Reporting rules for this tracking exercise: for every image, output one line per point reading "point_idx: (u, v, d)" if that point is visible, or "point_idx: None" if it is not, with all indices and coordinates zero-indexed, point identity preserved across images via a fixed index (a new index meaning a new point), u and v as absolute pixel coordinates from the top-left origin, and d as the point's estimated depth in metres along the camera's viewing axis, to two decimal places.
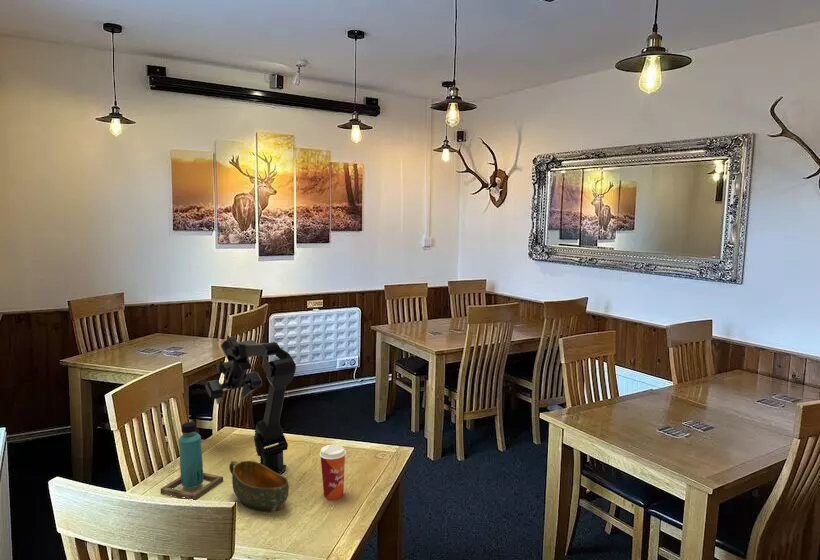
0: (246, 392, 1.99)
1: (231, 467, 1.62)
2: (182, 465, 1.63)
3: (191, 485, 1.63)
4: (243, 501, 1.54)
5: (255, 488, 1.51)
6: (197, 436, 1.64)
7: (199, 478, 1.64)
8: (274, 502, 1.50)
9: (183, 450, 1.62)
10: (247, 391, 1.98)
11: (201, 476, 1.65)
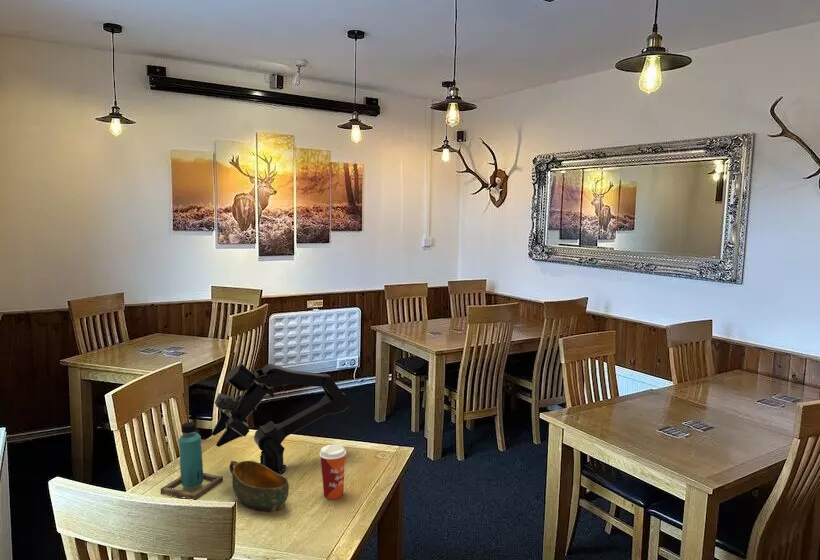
0: (225, 426, 1.73)
1: (231, 467, 1.62)
2: (182, 465, 1.63)
3: (191, 485, 1.63)
4: (243, 501, 1.54)
5: (255, 488, 1.51)
6: (197, 436, 1.64)
7: (199, 478, 1.64)
8: (274, 502, 1.50)
9: (183, 450, 1.62)
10: None
11: (201, 476, 1.65)
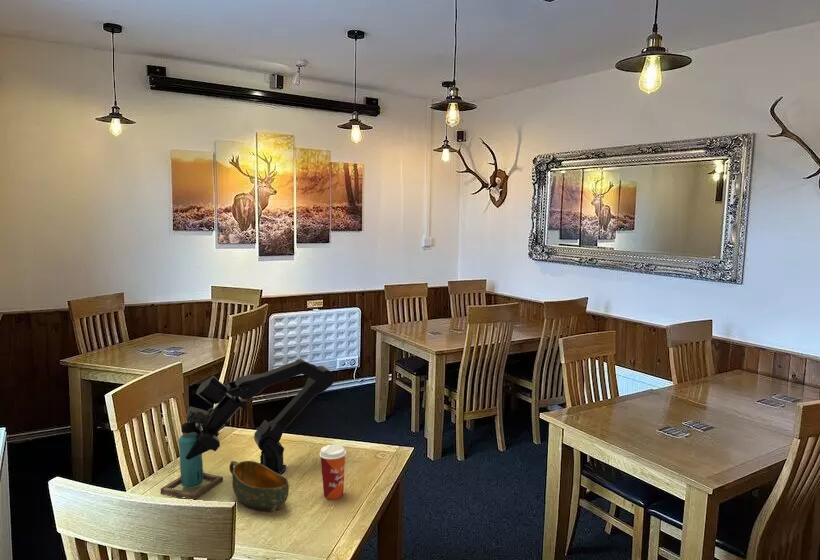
0: None
1: (231, 467, 1.62)
2: (182, 465, 1.63)
3: (191, 485, 1.63)
4: (243, 501, 1.54)
5: (255, 488, 1.51)
6: None
7: (199, 478, 1.64)
8: (274, 502, 1.50)
9: (183, 450, 1.62)
10: None
11: (201, 476, 1.65)
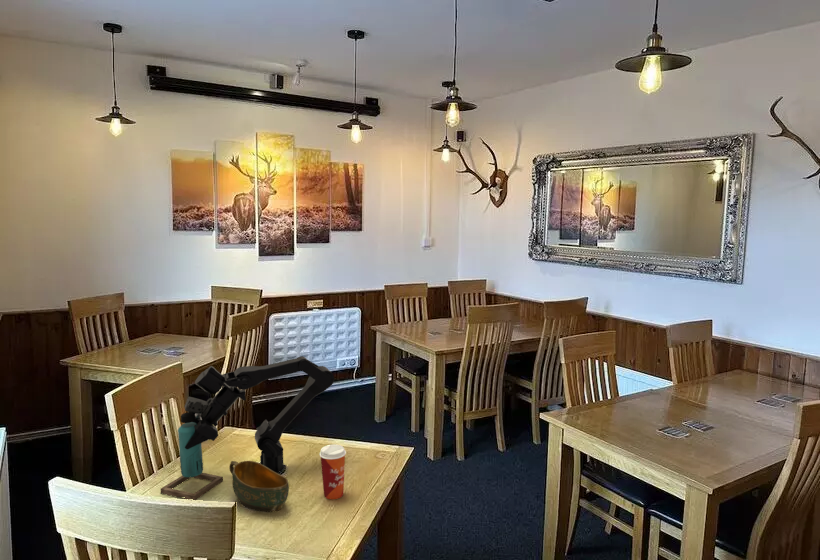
0: None
1: (231, 467, 1.62)
2: (181, 455, 1.63)
3: (190, 475, 1.64)
4: (243, 501, 1.54)
5: (255, 488, 1.51)
6: None
7: (199, 468, 1.65)
8: (274, 502, 1.50)
9: (182, 440, 1.63)
10: None
11: (200, 466, 1.66)
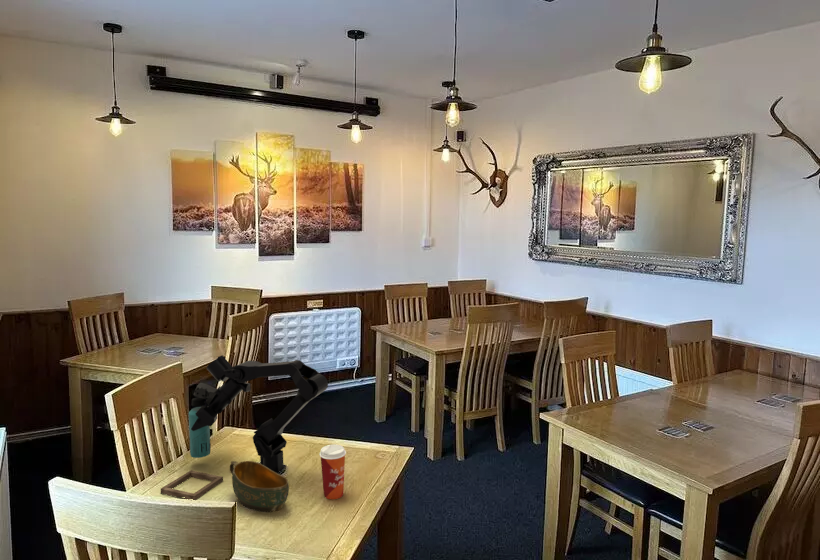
0: None
1: (231, 467, 1.62)
2: (190, 436, 1.77)
3: (195, 455, 1.76)
4: (243, 501, 1.54)
5: (255, 488, 1.51)
6: None
7: (203, 450, 1.77)
8: (274, 502, 1.50)
9: (190, 422, 1.77)
10: None
11: (206, 449, 1.78)
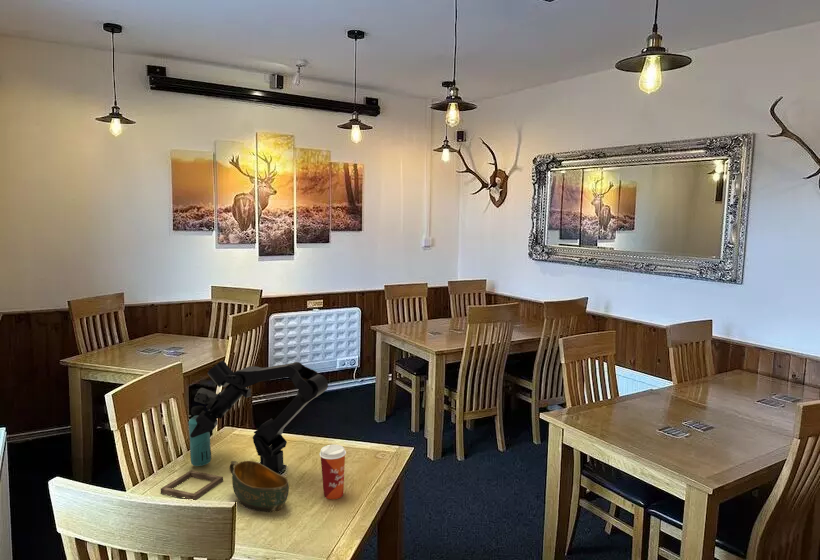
0: None
1: (231, 467, 1.62)
2: (190, 444, 1.77)
3: (196, 464, 1.77)
4: (243, 501, 1.54)
5: (255, 488, 1.51)
6: None
7: (204, 458, 1.77)
8: (274, 502, 1.50)
9: (190, 431, 1.76)
10: None
11: (206, 457, 1.78)
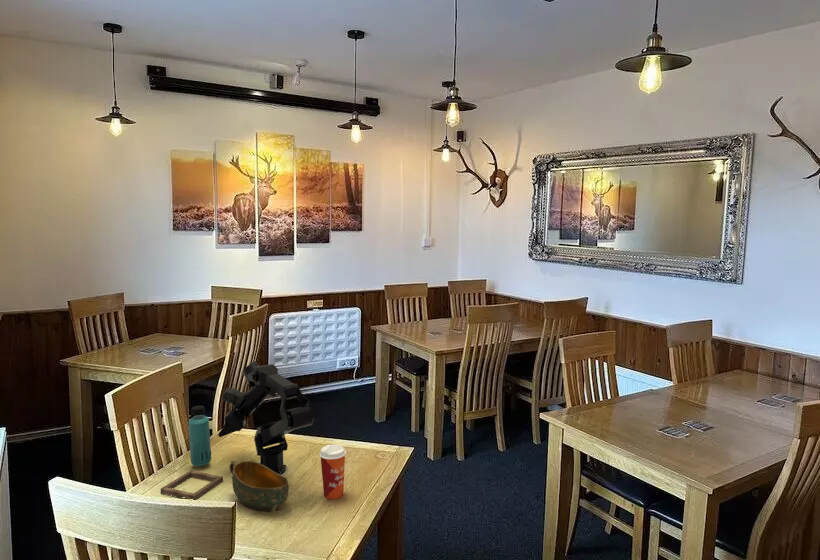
0: None
1: (231, 467, 1.62)
2: (190, 444, 1.77)
3: (196, 464, 1.77)
4: (243, 501, 1.54)
5: (255, 488, 1.51)
6: (203, 419, 1.77)
7: (204, 458, 1.77)
8: (274, 502, 1.50)
9: (190, 431, 1.76)
10: None
11: (206, 457, 1.78)
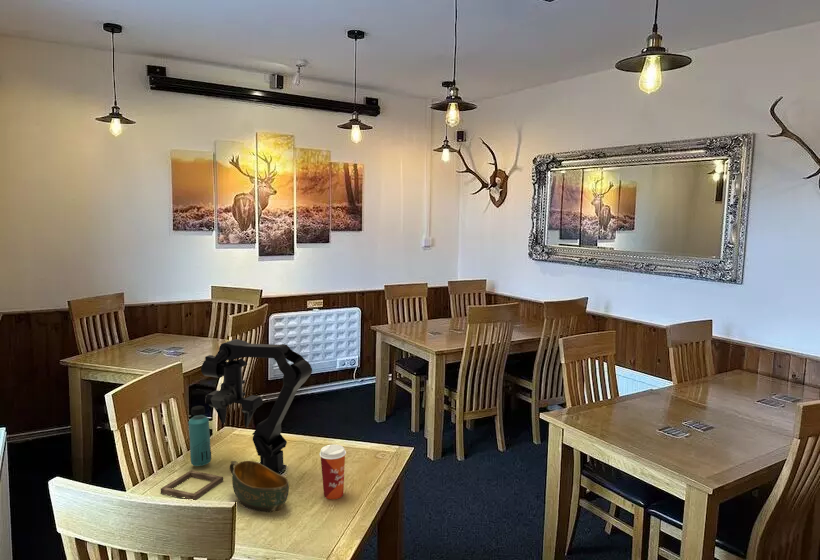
0: (225, 409, 1.83)
1: (231, 467, 1.62)
2: (190, 444, 1.77)
3: (196, 464, 1.77)
4: (243, 501, 1.54)
5: (255, 488, 1.51)
6: (203, 420, 1.77)
7: (204, 458, 1.77)
8: (274, 502, 1.50)
9: (190, 431, 1.76)
10: (225, 406, 1.83)
11: (206, 457, 1.78)
